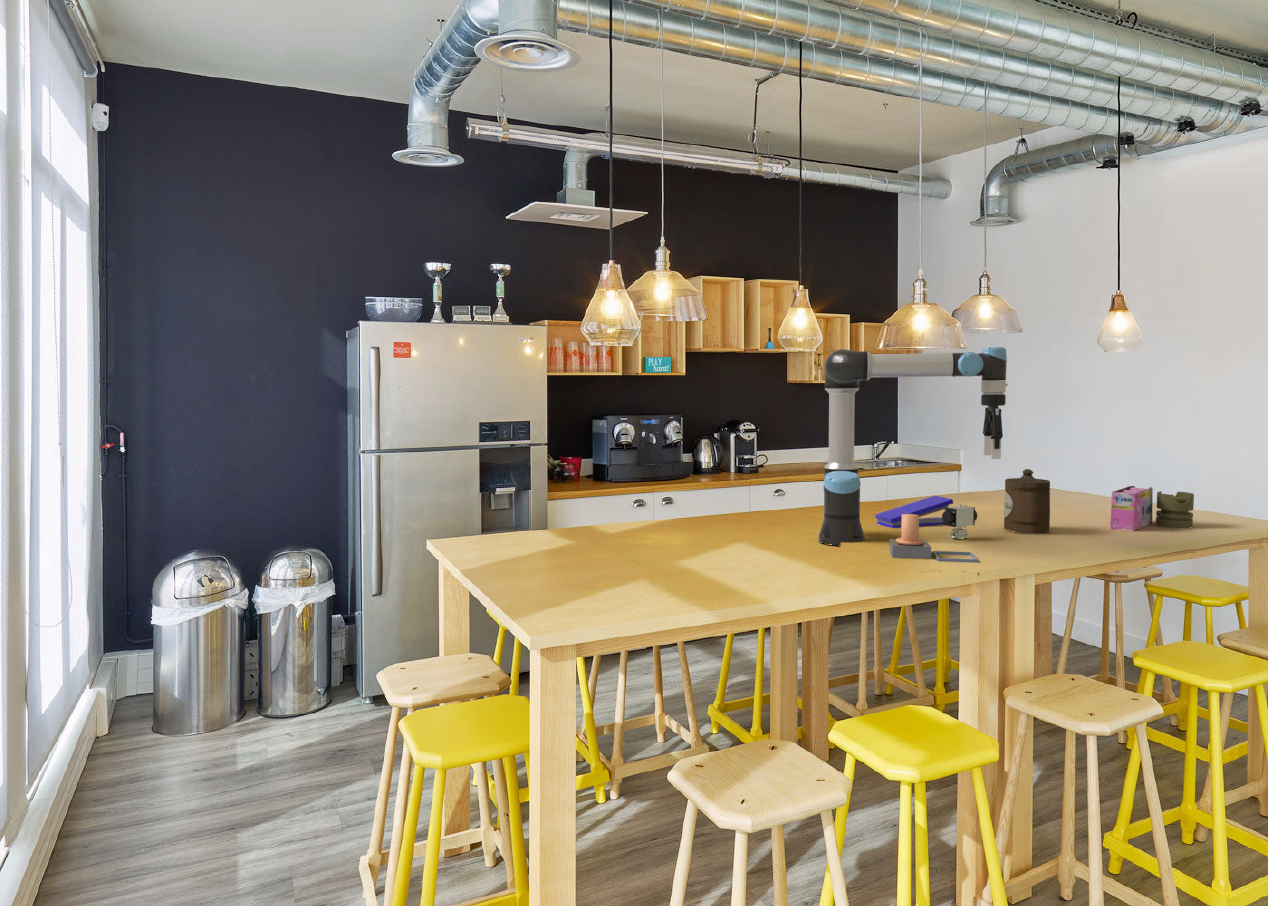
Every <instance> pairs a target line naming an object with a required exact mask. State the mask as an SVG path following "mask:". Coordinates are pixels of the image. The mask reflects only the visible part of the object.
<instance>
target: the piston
mask: <svg viewBox="0 0 1268 906" xmlns="http://www.w3.org/2000/svg"><path fill="white" fill-rule="evenodd" d="M1194 503H1195V493H1192V492H1187V491H1176V494H1175V495H1174V494H1170V493H1169V494H1167V493H1162V491H1157V493H1156V509H1159V510H1156V511H1155V512H1156V513H1155V514H1156V516H1155V526H1157V527H1162V528H1168V529H1169V528H1170V529H1181V528H1185V529H1191V528H1190V527H1192V526H1193V525H1194V513H1193V512H1191V511H1194V506H1195V505H1194ZM1192 528H1193V527H1192Z"/></svg>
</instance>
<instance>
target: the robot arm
mask: <svg viewBox="0 0 1268 906" xmlns="http://www.w3.org/2000/svg"><path fill="white" fill-rule="evenodd" d="M1007 358H1008V357H1007V350H1006V348H1005V347H1002V346H995V347H992V346H991V347H983V348H982V351H981V352H980V353H975V352H973V351H972V352H971V351H967V352H936V353H935V352H933V353H931V352H930V353H882V354H879V353H878V354H877V353H876V354H875V353H874V354H873V353H871V352H869V351H865V350H864V351H858V350H857V351H856V350H851V349H845V348H843V349H837V350H835V351H832V352H831V353H830V354H829V355H828V356H827V358H826V359H825V361H824V366H823V367H824V390H825V391H826V392H827V393H828V395H829V396H828V397H829V398H828V400H829V401H828V402H829V403H828V404H829V405H828V462H827V463H826V464H825V466H824V467H823V468H824V469H823V471H824V472H823V476H824V477H823V478H824V479H823V486H822V487H823V494H824V495H823V497H824V499H823V505H824V506H823V511H824V512H823V521H822V524H821V528H820V530H819V533H818V542H819V541H820V542H822V543H826V544H832V545H841V546H842V543H856V542H857V543H859V542H865V541H866V535H865V532H864V530H863V527H862V523H861V520H860V519H861V518H860V515H861V511H860V510H861V509H860V508H861V506H860V505H861V478H860V475H859V467H858V465H857V464H855V405H856V403H855V400H856V399H855V395H856V393H857V392H858V391H859V390H860V382H862V381H869V380H870V379H871V378H918V377H919V378H920V377H921V378H923V377H924V378H926V377H927V378H929V377H935V378H936V377H953V378H954V377H970V378H971V377H980V376H981V382H980V383H981V384H980V385H981V387H980V389H981V391H980V393H982V394H981V396H980V405H981V406H985V409H984V420H983V428H982V429H983V430H982V434H983V455H984V456H990V457H991V460H1001V459H1002V457H1001V456H1002V453H1001V452H1002V438H1003V436H1004V434H1003V422H1002V421H1003V419H1002V409H1001V408H999V407H1001V406H1002V407H1003V406H1005V405H1006V403H1007V402H1006V399H1007V398H1006V397H1007V396H1006V394H1004V393H1006V391H1007V390H1006V388H1007V387H1008V383H1006V382H1007V364H1008V363H1007V362H1008V359H1007ZM986 406H987V407H986ZM820 542H819V543H820ZM822 543H821V544H822ZM826 544H825V545H826ZM832 545H831V546H832Z"/></svg>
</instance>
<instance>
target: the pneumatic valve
mask: <svg viewBox="0 0 1268 906" xmlns="http://www.w3.org/2000/svg"><path fill="white" fill-rule="evenodd" d="M941 518H942V520H943V522H944V523H945V524H943V525H944V526H946V527H951V528H952V529H951V532H950V536H951V539H953V538H957V539H956V540H958V539H961V538H966V539H967V538H968V537H967V536H968V530H967V528H966V527H971V526H975V525H976V524H975V522H976V521H977V519H978V512H977V511H976V507H975V506H968V505H962V503H958V505H956V506H948V507H945V509H943V512H942V515H941ZM964 528H965V529H964Z"/></svg>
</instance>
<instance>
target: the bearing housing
mask: <svg viewBox="0 0 1268 906" xmlns="http://www.w3.org/2000/svg"><path fill="white" fill-rule="evenodd" d="M896 539H897V538H896ZM896 539H894V538H889V541H888V542H889V546H888V548H889V554H890V556H891V558H892V559H893V558H894V559H895V558H896V559H916V560H917V559H921V560H922V559H924V560H931V559H932V546H931V544H930V543H929V542H928V540H927V539H923V540H924V544H922V545H901V544H898V543H896Z"/></svg>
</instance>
